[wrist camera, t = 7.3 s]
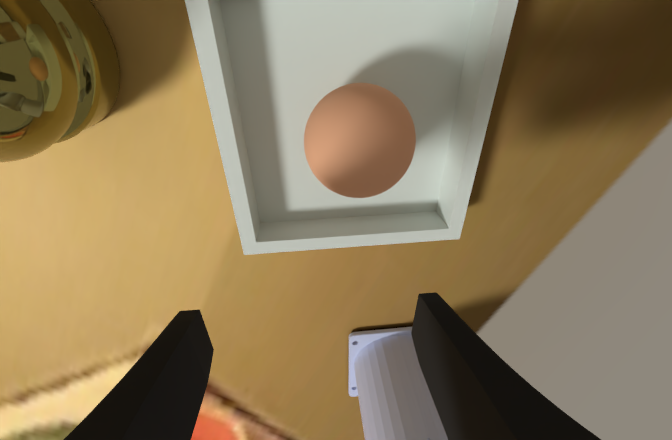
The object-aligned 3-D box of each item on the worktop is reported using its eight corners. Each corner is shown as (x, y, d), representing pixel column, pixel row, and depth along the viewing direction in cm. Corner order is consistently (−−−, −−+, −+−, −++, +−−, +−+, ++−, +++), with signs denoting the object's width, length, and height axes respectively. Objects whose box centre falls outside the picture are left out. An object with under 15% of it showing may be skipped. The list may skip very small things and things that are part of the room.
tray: (442, 216, 20) (459, 238, 18) (250, 229, 19) (244, 254, 17) (491, -26, 13) (527, -37, 11) (197, -23, 12) (177, -34, 10)
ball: (388, 171, 18) (423, 214, 13) (301, 174, 17) (310, 221, 13) (400, 76, 15) (448, 93, 11) (298, 75, 14) (307, 93, 10)
